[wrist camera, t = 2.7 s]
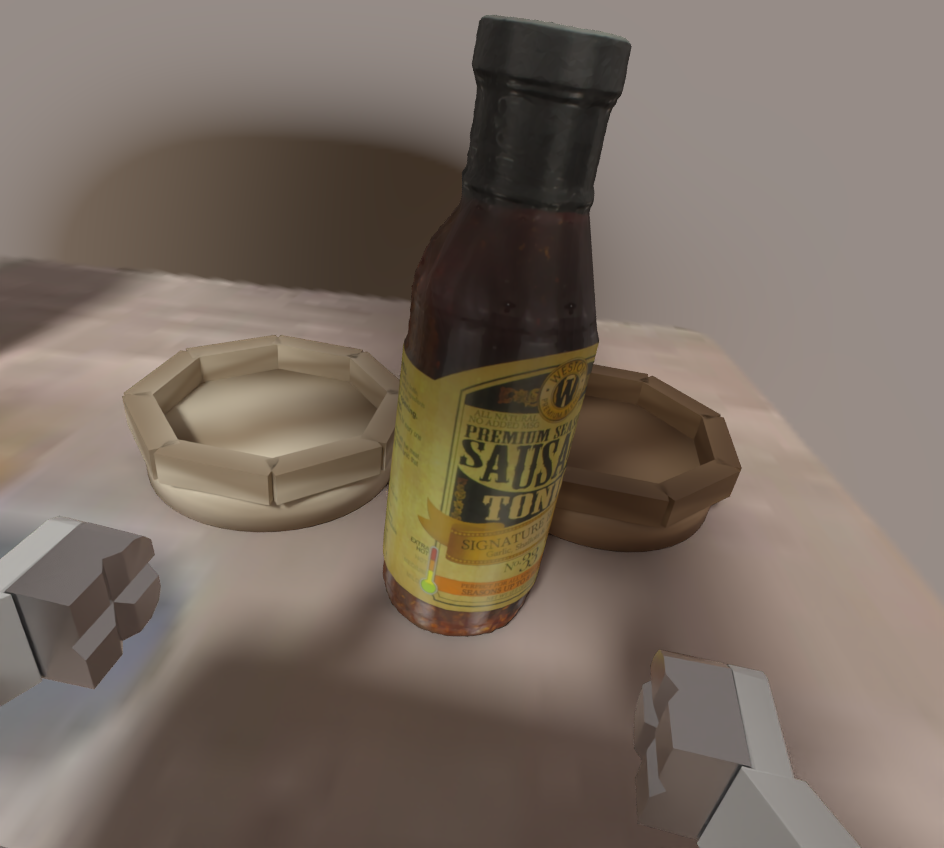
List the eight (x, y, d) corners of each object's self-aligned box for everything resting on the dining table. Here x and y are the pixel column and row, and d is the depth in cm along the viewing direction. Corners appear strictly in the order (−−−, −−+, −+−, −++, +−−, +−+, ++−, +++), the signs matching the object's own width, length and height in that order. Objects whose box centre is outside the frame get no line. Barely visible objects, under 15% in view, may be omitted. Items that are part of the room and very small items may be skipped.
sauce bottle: (440, 676, 23) (537, 16, 12) (351, 568, 27) (367, -3, 16) (567, 600, 27) (722, 47, 16) (473, 515, 30) (549, 26, 20)
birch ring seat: (117, 421, 33) (105, 360, 32) (336, 376, 40) (336, 325, 38) (185, 572, 25) (174, 503, 23) (445, 485, 32) (452, 426, 30)
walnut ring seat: (435, 443, 35) (441, 387, 33) (593, 397, 42) (606, 349, 40) (595, 592, 27) (614, 529, 25) (759, 505, 34) (784, 450, 32)
